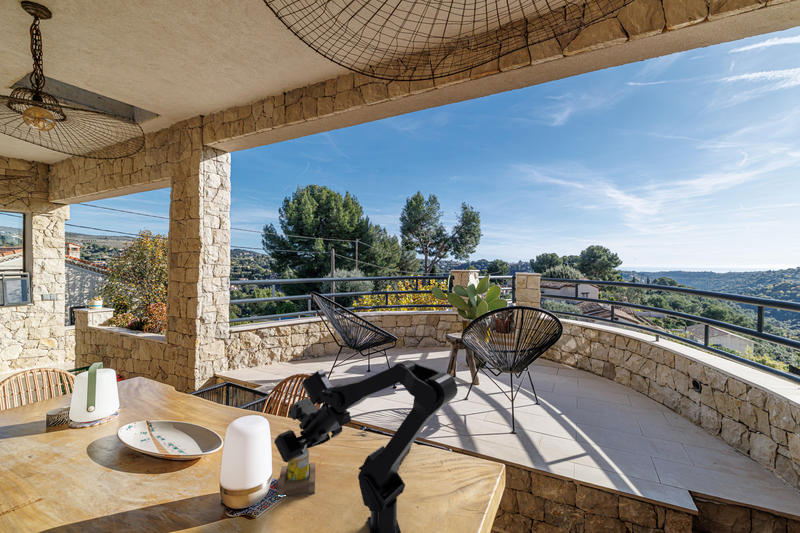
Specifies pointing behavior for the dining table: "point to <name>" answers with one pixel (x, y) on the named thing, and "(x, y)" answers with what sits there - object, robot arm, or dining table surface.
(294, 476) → the supplement bottle
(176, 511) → the dining table surface
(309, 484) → the socket block
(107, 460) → the dining table surface
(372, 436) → the dining table surface
